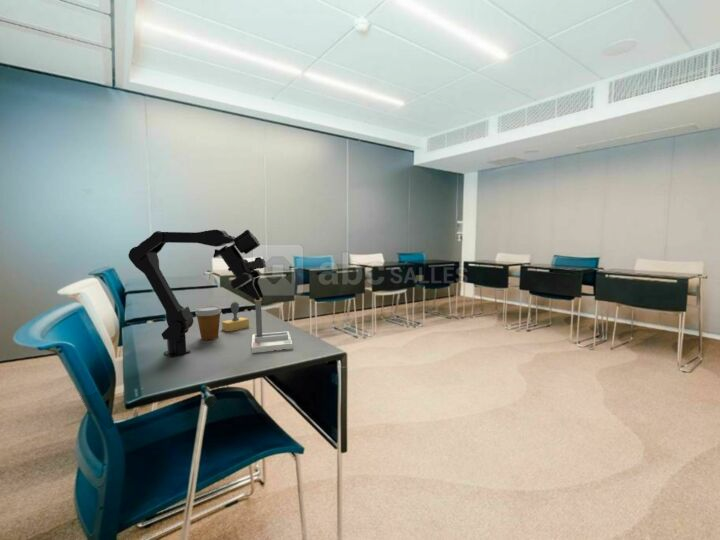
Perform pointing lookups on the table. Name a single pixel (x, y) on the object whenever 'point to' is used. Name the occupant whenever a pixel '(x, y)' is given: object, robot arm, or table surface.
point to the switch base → (271, 342)
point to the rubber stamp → (235, 320)
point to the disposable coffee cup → (208, 321)
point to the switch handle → (258, 317)
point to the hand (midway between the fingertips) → (260, 298)
